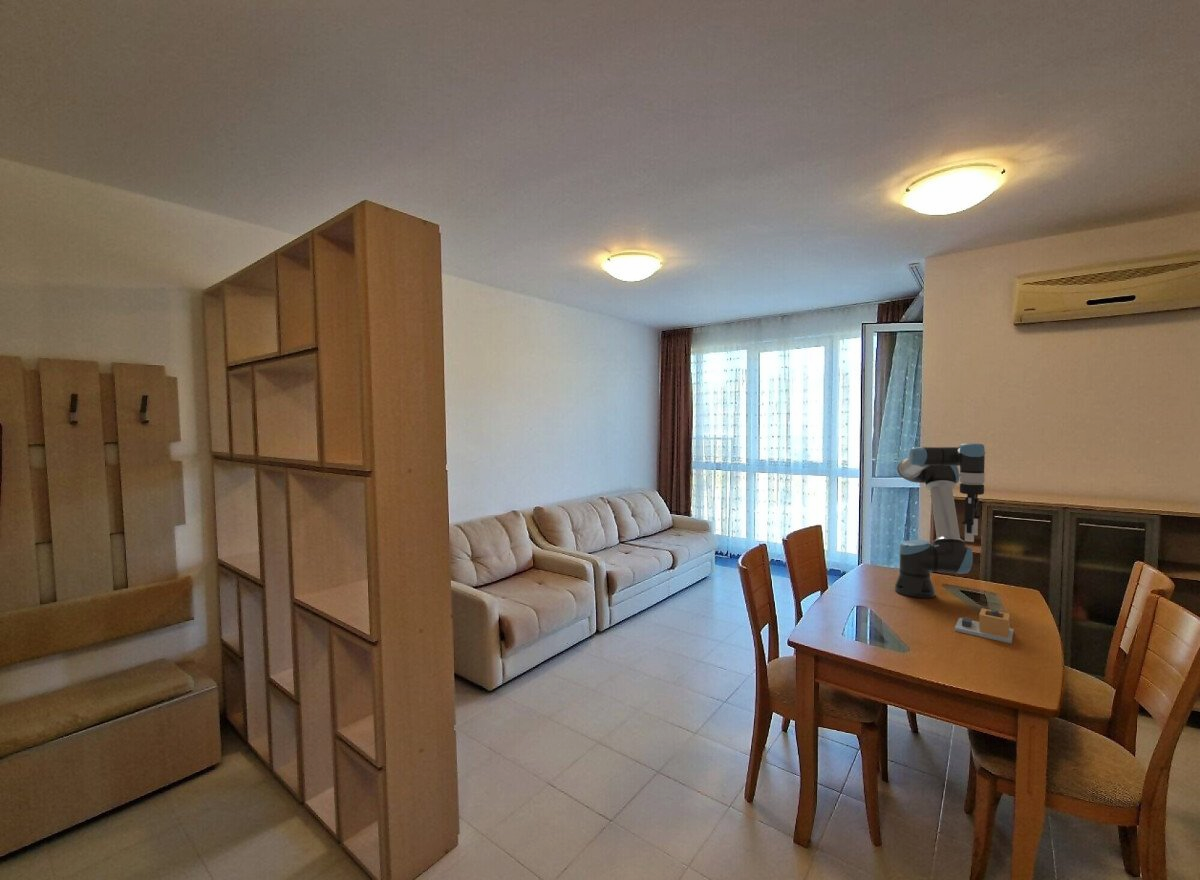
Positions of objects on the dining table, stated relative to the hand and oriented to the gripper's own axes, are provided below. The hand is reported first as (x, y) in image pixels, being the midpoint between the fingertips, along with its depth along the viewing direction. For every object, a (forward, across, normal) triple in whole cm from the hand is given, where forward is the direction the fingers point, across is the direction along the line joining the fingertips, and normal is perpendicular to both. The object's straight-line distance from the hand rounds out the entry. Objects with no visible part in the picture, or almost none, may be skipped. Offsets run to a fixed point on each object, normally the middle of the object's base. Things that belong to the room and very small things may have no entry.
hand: (971, 538), depth 188 cm
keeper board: (+32, +11, +5) cm, 34 cm away
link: (+30, +11, +8) cm, 33 cm away
